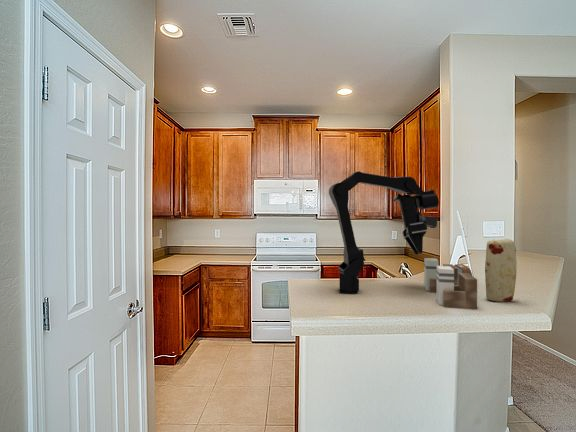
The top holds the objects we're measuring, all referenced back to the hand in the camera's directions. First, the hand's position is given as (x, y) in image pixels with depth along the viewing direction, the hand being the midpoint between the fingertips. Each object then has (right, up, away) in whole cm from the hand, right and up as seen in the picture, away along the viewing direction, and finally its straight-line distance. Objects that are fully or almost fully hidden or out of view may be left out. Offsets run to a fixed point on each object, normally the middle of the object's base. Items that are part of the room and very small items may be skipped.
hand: (418, 253), depth 118 cm
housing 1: (+9, -14, +2) cm, 16 cm away
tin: (+19, -14, +7) cm, 25 cm away
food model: (+22, -14, -12) cm, 28 cm away
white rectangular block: (+3, -14, -14) cm, 20 cm away
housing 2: (+6, -14, -15) cm, 21 cm away
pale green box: (+6, -13, +3) cm, 15 cm away
